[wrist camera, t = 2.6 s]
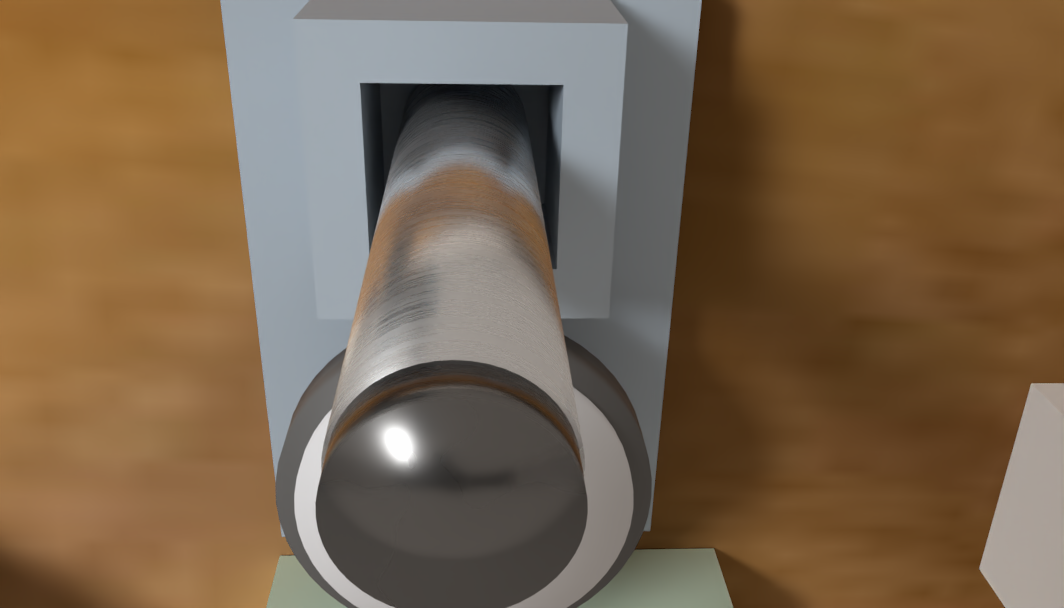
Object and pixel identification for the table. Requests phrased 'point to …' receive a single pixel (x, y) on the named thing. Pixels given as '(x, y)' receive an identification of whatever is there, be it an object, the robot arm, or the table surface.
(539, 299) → the dark capped cylinder
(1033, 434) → the robot arm
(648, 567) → the tray
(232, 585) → the table surface
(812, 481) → the table surface
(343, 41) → the block
